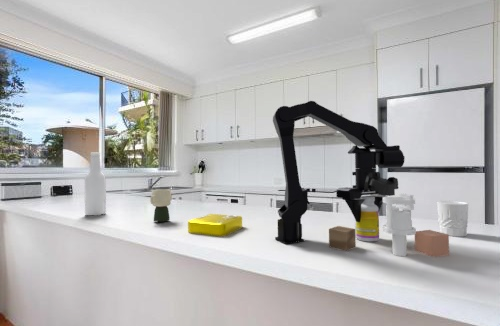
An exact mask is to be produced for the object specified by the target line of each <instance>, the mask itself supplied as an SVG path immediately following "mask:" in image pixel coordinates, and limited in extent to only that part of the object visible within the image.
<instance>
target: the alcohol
mask: <svg viewBox="0 0 500 326" xmlns="http://www.w3.org/2000/svg"><path fill="white" fill-rule="evenodd" d="M100 154H101V153H100V152H95V151H94V152H90V160H89V161H90V162H89V171H88V172H87V174H85V176H84V215H85V216H86V215H98V216H101V215H100V214H103V215H105V214H106V213H107V193H106V191H107V189H106V188H107V183H106V182H107V181H106V175H105V174H104V173H103V171H102V168H101V159H100V156H101V155H100ZM104 213H105V214H104Z"/></svg>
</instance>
